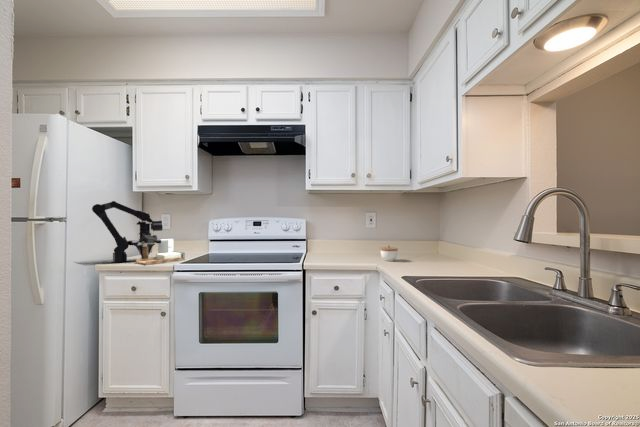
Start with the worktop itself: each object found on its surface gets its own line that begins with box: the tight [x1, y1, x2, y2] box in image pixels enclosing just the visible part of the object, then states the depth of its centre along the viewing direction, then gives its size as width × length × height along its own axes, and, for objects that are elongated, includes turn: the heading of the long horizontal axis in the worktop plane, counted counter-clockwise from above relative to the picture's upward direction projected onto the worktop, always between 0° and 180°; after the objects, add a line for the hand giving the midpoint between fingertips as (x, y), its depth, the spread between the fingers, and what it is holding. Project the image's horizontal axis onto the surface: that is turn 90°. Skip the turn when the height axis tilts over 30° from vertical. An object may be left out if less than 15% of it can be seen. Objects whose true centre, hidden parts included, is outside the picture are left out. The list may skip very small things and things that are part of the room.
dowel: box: [140, 246, 149, 259], centre depth 200 cm, size 4×4×8 cm
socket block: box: [155, 252, 181, 260], centre depth 198 cm, size 11×11×3 cm
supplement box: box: [157, 238, 174, 254], centre depth 214 cm, size 7×7×13 cm
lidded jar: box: [379, 245, 399, 262], centre depth 193 cm, size 11×11×9 cm
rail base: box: [135, 250, 186, 266], centre depth 194 cm, size 24×14×5 cm, turn 144°
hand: (144, 255), depth 200 cm, fingers closed on dowel, 4 cm apart
